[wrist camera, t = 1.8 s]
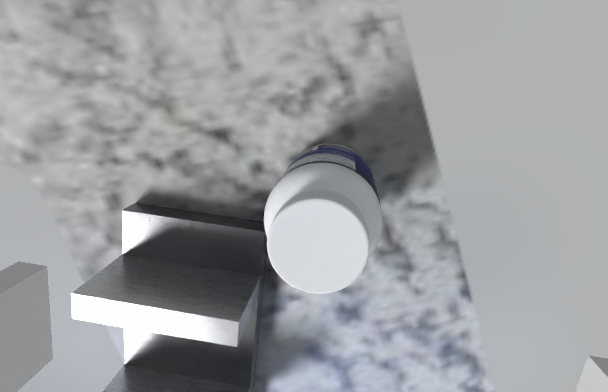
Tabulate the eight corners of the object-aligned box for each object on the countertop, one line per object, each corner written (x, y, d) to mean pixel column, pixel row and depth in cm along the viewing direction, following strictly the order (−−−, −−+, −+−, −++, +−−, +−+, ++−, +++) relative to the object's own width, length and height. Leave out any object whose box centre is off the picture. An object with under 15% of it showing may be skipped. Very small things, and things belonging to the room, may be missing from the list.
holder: (134, 203, 26) (68, 240, 20) (269, 223, 26) (243, 268, 20) (135, 400, 31) (81, 480, 25) (250, 421, 30) (224, 509, 24)
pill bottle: (370, 230, 25) (382, 318, 16) (285, 224, 26) (248, 305, 16) (378, 144, 24) (395, 185, 14) (287, 139, 24) (247, 175, 15)
